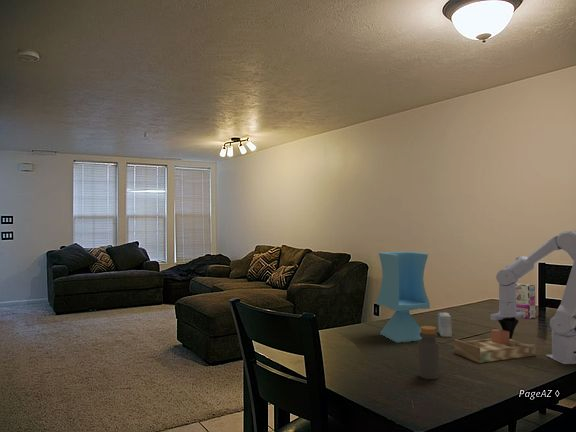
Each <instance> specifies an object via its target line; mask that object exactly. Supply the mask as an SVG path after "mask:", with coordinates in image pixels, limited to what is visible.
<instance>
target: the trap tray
mask: <svg viewBox="0 0 576 432" xmlns="http://www.w3.org/2000/svg"><path fill="white" fill-rule="evenodd" d="M453 347H454V349H453V350H454V354H456V355H458V356H461V357H463V358H465V359H468V360H471V361H473V362H476V363H479V364H480V363H486V362H487V363H489V362H495V361H503V360H511V359H519V358H526V357H533V356H536V344H534V343H533V344H527V343H524V342H520V341H518V340H514V339H510V343H506V344H498V343H495V342H492V338H485V339H476V340H467V341H465V340H464V341H462V340H460V339H456V338H454V339H453Z"/></svg>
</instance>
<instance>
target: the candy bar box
mask: <svg viewBox="0 0 576 432" xmlns="http://www.w3.org/2000/svg"><path fill="white" fill-rule="evenodd" d="M536 311H537V309H536V285H535V284H530V283H521V282H520V283H519V282H516V312H525V318H524V319H528V320H531V319H536V318H537V316H536V315H537V312H536Z"/></svg>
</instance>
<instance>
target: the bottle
mask: <svg viewBox="0 0 576 432" xmlns="http://www.w3.org/2000/svg"><path fill="white" fill-rule="evenodd" d="M419 327H420V329H421V332H420V337H422V339H421V340H419V341H418V376H419V377H420V378H422V379H424V380H425V379H426V380H437V379H439V377H440V368H439V367H440V363H439V362H440V361H439V359H440V357H439V342H438V340H436V338H437V337H438V334H437V333H436V332H437V331H436V330H437V327H436V326H432V325H421V326H419Z"/></svg>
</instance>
